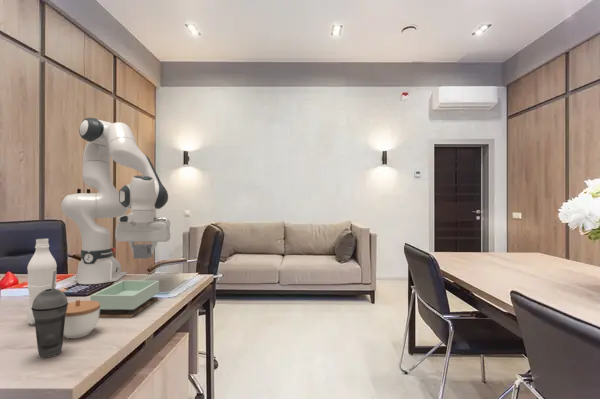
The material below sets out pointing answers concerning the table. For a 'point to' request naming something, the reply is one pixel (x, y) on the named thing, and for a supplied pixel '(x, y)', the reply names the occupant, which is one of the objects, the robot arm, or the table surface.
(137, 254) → the metal block
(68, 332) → the lidded jar
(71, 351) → the table surface
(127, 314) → the track
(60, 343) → the beverage cup
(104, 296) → the mint green tray
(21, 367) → the table surface
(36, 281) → the water bottle
